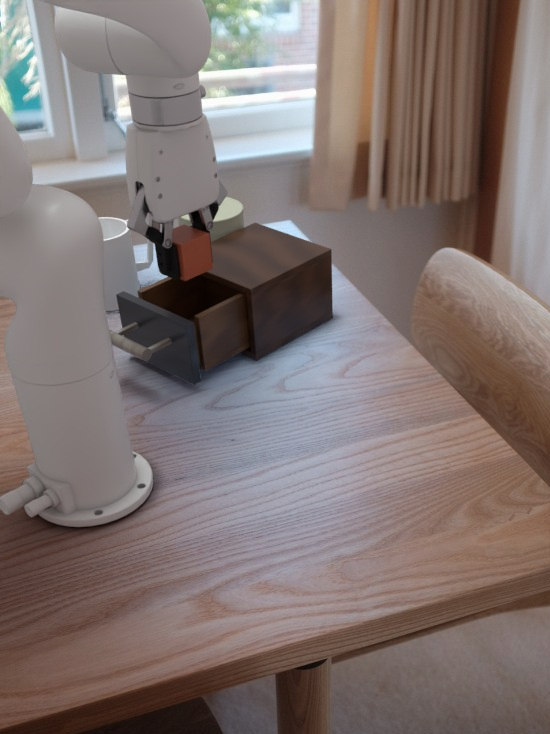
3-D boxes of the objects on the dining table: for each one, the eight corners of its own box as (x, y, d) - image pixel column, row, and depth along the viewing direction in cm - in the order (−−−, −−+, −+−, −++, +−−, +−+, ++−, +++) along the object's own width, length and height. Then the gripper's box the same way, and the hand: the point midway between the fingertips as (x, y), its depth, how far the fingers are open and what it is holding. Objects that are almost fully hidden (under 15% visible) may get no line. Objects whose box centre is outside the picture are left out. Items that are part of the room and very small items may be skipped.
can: (181, 301, 127) (170, 218, 119) (190, 273, 134) (180, 192, 126) (247, 301, 127) (240, 217, 119) (252, 272, 134) (246, 191, 126)
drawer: (164, 402, 106) (154, 342, 100) (96, 366, 112) (83, 308, 107) (272, 341, 116) (268, 284, 111) (205, 312, 123) (198, 257, 117)
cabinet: (256, 361, 114) (250, 289, 108) (182, 327, 121) (173, 258, 115) (332, 317, 123) (331, 248, 117) (260, 288, 130) (255, 222, 124)
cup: (174, 290, 130) (165, 221, 123) (101, 317, 124) (87, 246, 117) (143, 271, 135) (133, 205, 128) (71, 296, 128) (56, 228, 122)
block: (185, 281, 106) (181, 245, 103) (160, 271, 108) (155, 235, 105) (213, 268, 108) (209, 233, 106) (188, 259, 111) (183, 223, 108)
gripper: (200, 84, 103) (216, 238, 115) (80, 118, 93) (110, 284, 105) (247, 95, 99) (258, 254, 111) (126, 133, 90) (152, 302, 101)
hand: (186, 267), depth 108 cm, fingers closed on block, 4 cm apart
